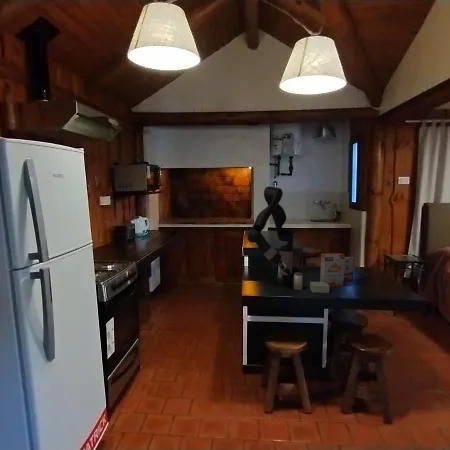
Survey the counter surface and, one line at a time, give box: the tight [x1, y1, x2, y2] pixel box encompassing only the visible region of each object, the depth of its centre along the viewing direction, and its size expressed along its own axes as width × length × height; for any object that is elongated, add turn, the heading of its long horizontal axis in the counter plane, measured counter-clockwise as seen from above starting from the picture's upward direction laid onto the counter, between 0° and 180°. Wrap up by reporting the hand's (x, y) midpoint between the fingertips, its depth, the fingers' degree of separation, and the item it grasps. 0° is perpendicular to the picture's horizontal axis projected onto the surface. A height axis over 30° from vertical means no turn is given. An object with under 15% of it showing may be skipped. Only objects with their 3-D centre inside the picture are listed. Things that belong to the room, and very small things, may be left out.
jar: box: [293, 272, 303, 291], centre depth 241 cm, size 5×5×10 cm
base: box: [309, 281, 330, 294], centre depth 239 cm, size 10×10×4 cm
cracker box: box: [319, 253, 346, 288], centre depth 249 cm, size 14×6×21 cm, turn 101°
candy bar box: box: [343, 256, 355, 283], centre depth 262 cm, size 11×5×16 cm, turn 112°
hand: (290, 273), depth 241 cm, fingers open, 8 cm apart
